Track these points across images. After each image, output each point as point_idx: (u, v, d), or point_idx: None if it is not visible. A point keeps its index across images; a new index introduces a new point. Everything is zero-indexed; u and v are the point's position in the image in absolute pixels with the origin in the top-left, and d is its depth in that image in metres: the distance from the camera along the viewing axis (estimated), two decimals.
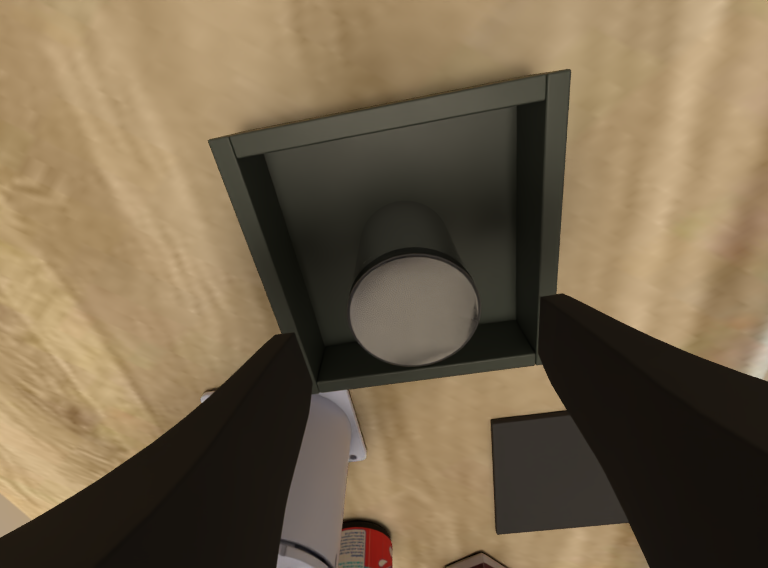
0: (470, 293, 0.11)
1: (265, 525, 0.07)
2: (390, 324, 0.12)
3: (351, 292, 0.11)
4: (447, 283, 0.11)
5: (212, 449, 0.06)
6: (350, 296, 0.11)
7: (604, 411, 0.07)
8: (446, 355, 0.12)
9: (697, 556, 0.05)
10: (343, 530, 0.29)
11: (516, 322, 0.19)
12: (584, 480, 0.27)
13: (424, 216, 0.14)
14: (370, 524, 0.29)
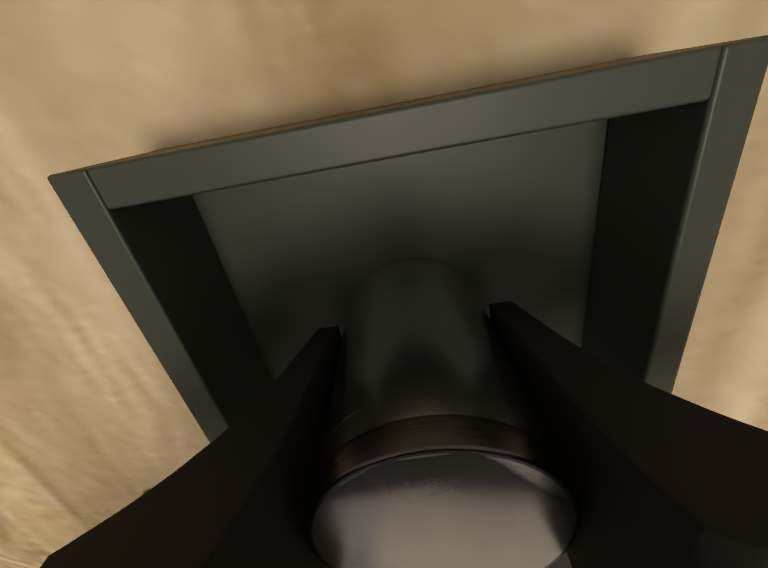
0: (563, 509, 0.05)
1: None
2: (394, 549, 0.06)
3: (313, 502, 0.05)
4: (516, 493, 0.05)
5: (285, 440, 0.06)
6: (311, 510, 0.05)
7: (537, 419, 0.07)
8: None
9: (601, 564, 0.05)
10: None
11: None
12: None
13: (451, 296, 0.09)
14: None
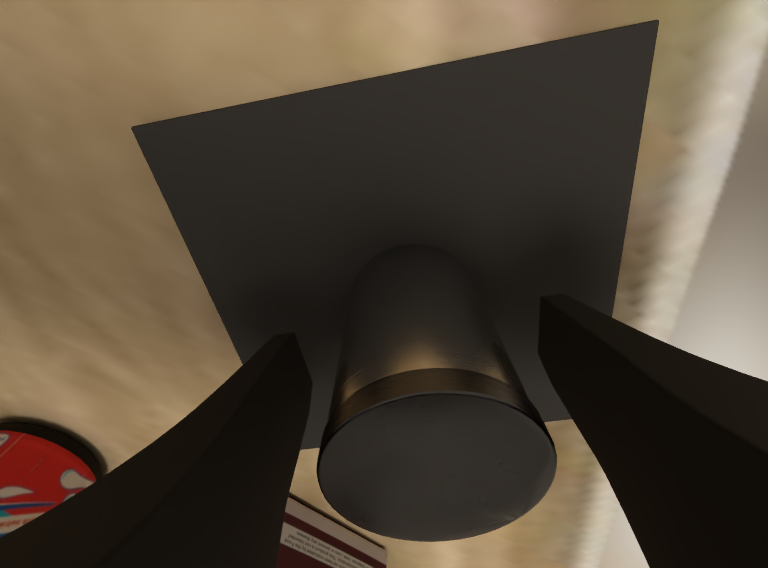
0: (540, 450, 0.06)
1: (264, 524, 0.07)
2: (394, 491, 0.07)
3: (323, 446, 0.06)
4: (499, 436, 0.06)
5: (211, 449, 0.06)
6: (322, 453, 0.06)
7: (604, 411, 0.07)
8: (488, 529, 0.07)
9: (697, 556, 0.05)
10: None
11: None
12: None
13: (446, 277, 0.09)
14: (35, 428, 0.16)
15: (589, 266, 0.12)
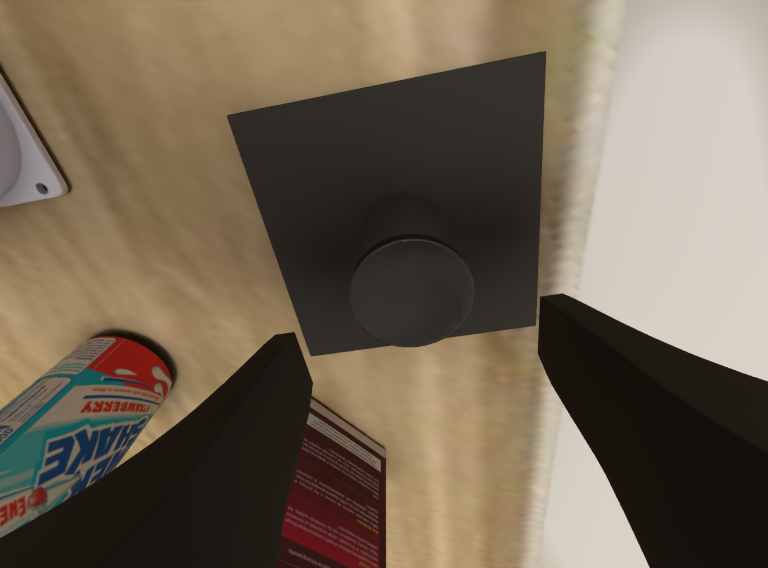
0: (463, 277, 0.12)
1: (264, 525, 0.07)
2: (389, 306, 0.13)
3: (353, 276, 0.12)
4: (442, 267, 0.12)
5: (212, 449, 0.06)
6: (352, 279, 0.12)
7: (604, 411, 0.07)
8: (442, 336, 0.13)
9: (697, 556, 0.05)
10: (87, 340, 0.21)
11: None
12: None
13: (422, 207, 0.15)
14: (131, 337, 0.21)
15: (519, 209, 0.18)
